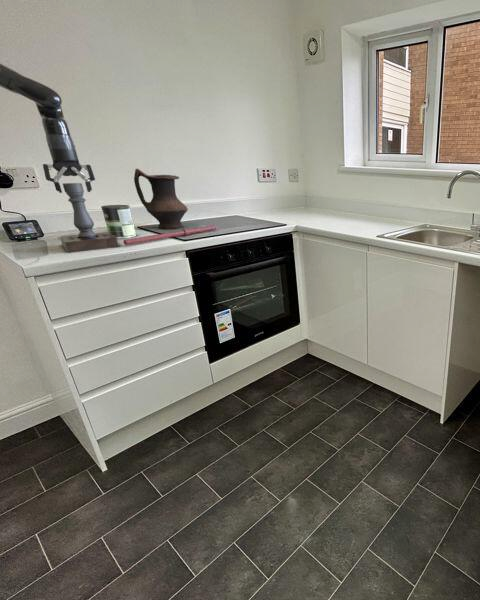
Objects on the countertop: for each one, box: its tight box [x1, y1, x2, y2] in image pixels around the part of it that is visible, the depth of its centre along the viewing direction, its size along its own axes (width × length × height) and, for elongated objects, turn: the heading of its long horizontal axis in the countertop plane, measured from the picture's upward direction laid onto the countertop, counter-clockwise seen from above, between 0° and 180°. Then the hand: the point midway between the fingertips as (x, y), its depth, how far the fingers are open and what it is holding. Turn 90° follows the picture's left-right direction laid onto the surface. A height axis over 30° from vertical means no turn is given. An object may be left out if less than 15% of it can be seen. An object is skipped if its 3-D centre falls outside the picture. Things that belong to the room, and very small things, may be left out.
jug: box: [133, 168, 188, 230], centre depth 185 cm, size 21×18×30 cm
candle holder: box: [62, 182, 96, 238], centre depth 142 cm, size 6×6×25 cm
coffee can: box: [100, 204, 137, 240], centre depth 163 cm, size 10×10×14 cm
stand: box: [59, 231, 120, 253], centre depth 146 cm, size 16×16×4 cm
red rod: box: [122, 225, 217, 246], centre depth 167 cm, size 45×3×3 cm, turn 157°
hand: (75, 192), depth 139 cm, fingers open, 8 cm apart
